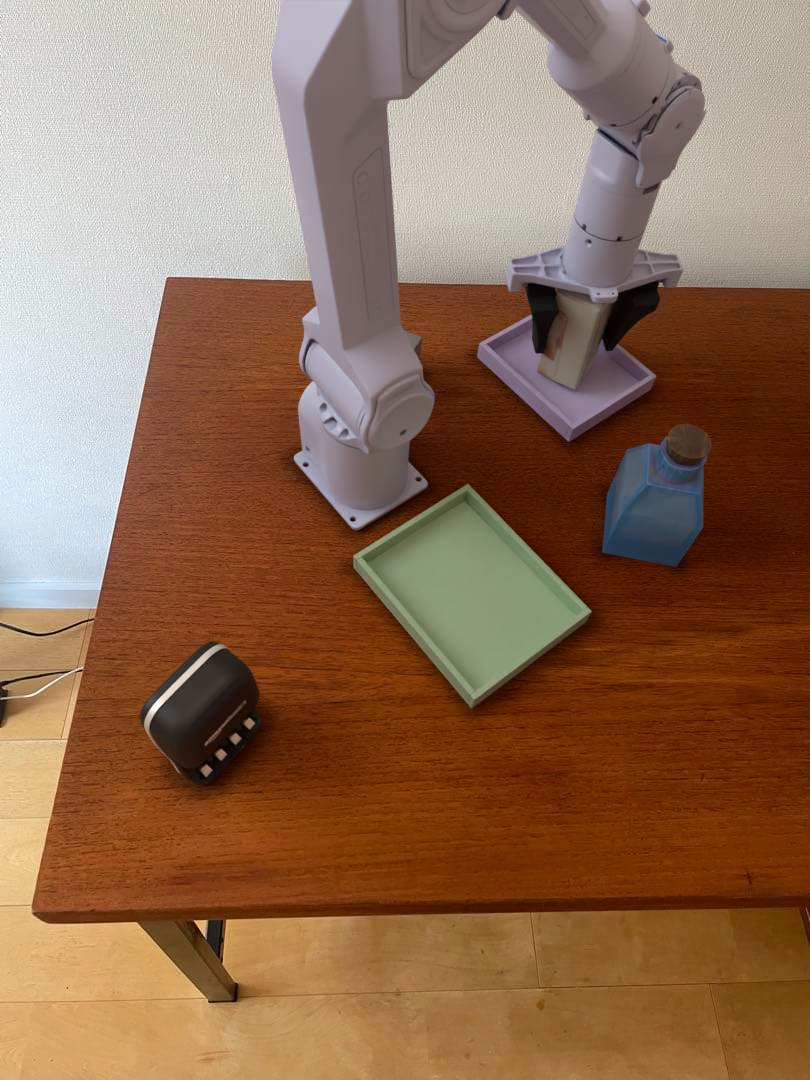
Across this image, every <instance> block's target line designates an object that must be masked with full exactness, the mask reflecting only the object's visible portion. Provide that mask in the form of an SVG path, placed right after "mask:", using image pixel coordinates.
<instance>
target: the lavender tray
mask: <svg viewBox="0 0 810 1080" xmlns="http://www.w3.org/2000/svg"><path fill="white" fill-rule="evenodd" d="M532 329H533V326H532V313H531V314H530V315H527V316H526V317H524V318H522V319H521V320H519V321H517V322H515V323H513V324H512V325H510V326H508V327H506V328H504V329H501V331H498V332H497V333H495V334H493V335H491V336H490V337H487V338H486V339H484V340H482V341H481V342H479V343H478V349H477V356H476V358H477V359H478V360H479V361H480V362H481V363H483V364H484V365H485V366H486V367H487V369H489V370H490V371H491V372H493V374H494V375H496V377H498V378H499V379H500V380H501V381H502V382H503V383H504V384H505V385H507V387H509V388H510V389H511V390H512V391H513V392H514V393H515V394H516V395H517V396H518V397H519V398H520V399H522V400H523V401H524V402H525V403H526V404H527V405H528V407H530V408H531V409H532V410H533V411H535V413H537V414H538V416H540V417H541V418H542V419H543V420H544V421H545V422H546V423H547V424H548V425H549V426H551V428H552V429H554V430H555V431H556V432H557V433H558V434H559V435H560V436H561V437H562V438H563V439H564V440H565V441H567V442H568V443H570V442H571V441H573V440H574V439H576V438H578V437H579V436H580V435H583V434H584V433H586V432H587V431H588V430H590V429H591V428H593V427H595V426H597V425H598V424H599V423H601V422H602V421H604V420H606V419H607V418H609V417H610V416H612V415H614V414H615V413H617V412H618V411H620V410H622V409H623V408H624V407H626V406H627V405H630V404H631V403H632V402H634V401H635V400H637V399H638V398H640V397H642V396H643V395H644V394H646V393H647V392H649V391H652V387H653V385H654V383H655V382H656V378H657V375H656V374H655V373H654V372H653V371H651V370H650V369H649V368H648V367H646V366H645V365H644V364H643V363H641V362H640V360H638V359H637V358H636V357H634V356H633V355H632V354H631V353H630V352H629V351H627V350H626V349H625V348H624V347H622V346H621V345H620V344H619V343H618V344H617V345H616V347H615V348H614V349H613V351H606V350H605V347H604V343H603V340H602V341H601V344H600V347H599V350H598V353H597V356H596V359H595V361H594V362H593V364H592V366H591V368H590V369H589V371H588V372H587V374H586V376H585V377H584V379H583V380H582V382H581V383H580V385H579V386H578V388H577V389H576V390H574V389H571V388H569V387H567V386H565V385H562V384H560V383H558V382H556V381H554V380H552V379H550V378H547V377H545V376H543V375H541V374H539V373H538V372H537V369H538V365H539V361H540V356H541V354H536V353H535V350H534V346H533V342H532Z"/></svg>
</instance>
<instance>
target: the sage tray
mask: <svg viewBox="0 0 810 1080" xmlns="http://www.w3.org/2000/svg"><path fill="white" fill-rule="evenodd" d="M352 557H353V562H352V563H353V566H352V567H353V569H354V570H355V571H356V572H357V573H358V575H359V576H360V577H361V578H362V580H364V582H365V583H366V584H367V585H368V587H369V588H370V590H372V591H373V593H374V594H375V595H376V596H377V597H378V599H380V601H381V602H382V603H383V605H384V606H385V607H386V608H387V609H388V610H389V612H390V613H391V615H393V617H394V618H395V619H396V620H397V621H398V623H399V624H400V625H401V626H402V627H403V629H404V630H405V632H406V633H408V634H409V636H410V637H411V638H412V639H413V641H414V642H415V643H416V644H417V645H418V647H419V648H420V650H422V651H423V653H424V654H425V655H426V656H427V657H428V658H429V660H430V661H431V662H432V663H433V665H434V666H435V667H436V668H437V670H438V671H439V672H440V673H441V674H442V675H443V677H445V679H446V680H447V681H448V682H449V684H450V685H451V686H452V687H453V689H454V690H455V691H456V692H457V693H458V695H459V696H460V697H461V698H462V700H463V701H464V702H465V703H466V704H467V705H468V706H469V708H470V709H473V708H475V707H476V706H477V705H479V704H480V703H481V702H483V701H484V700H486V699H487V698H488V697H489V696H491V695H492V694H493V693H494V692H496V691H497V690H498V689H500V688H501V687H503V685H505V684H506V683H508V682H509V681H511V680H512V679H514V678H515V677H516V676H517V675H518V674H520V673H521V672H522V671H524V670H525V669H526V668H527V667H529V666H530V665H531V664H533V663H534V662H535V661H537V660H538V659H539V658H541V657H542V656H543V655H545V654H546V653H548V651H550V650H551V649H552V648H554V647H555V646H557V645H558V644H559V643H561V642H562V641H563V640H565V639H566V638H567V637H569V635H571V634H572V633H574V632H575V631H576V630H578V629H579V628H581V626H583V625H584V624H586V623H587V621H588V619H589V618H590V616H591V614H592V609H590V608H589V607H588V606H587V605H586V603H584V602H583V601H582V599H580V598H579V596H578V595H577V594H576V593H575V592H574V591H573V590H572V589H571V588H570V587H569V586H568V585H567V584H566V583H565V582H564V581H563V580H562V579H561V578H560V577H559V576H558V575H557V574H556V572H554V571H553V570H552V569H551V567H549V565H548V564H546V563H545V562H544V560H543V559H542V558H541V557H540V556H539V555H538V554H537V553H536V552H535V551H534V550H533V549H532V548H531V547H530V546H529V545H528V544H527V543H526V542H525V541H524V540H523V538H522V537H521V536H519V535H518V534H517V532H515V530H514V529H512V527H511V526H510V525H509V524H508V523H507V522H506V521H505V520H504V519H503V518H502V517H501V515H499V514H498V513H497V512H496V511H495V510H494V509H493V508H492V507H491V505H490V504H489V503H487V502H486V501H485V500H484V499H483V497H481V496H480V494H479V493H478V492H477V491H476V490H475V489H474V488H473V487H472V486H471V485H470V484H469V483H467V484H464V485H463V486H462V487H460V488H459V489H457V490H455V491H454V492H452V493H451V494H449V495H448V496H446V497H445V498H443V499H441V500H439V501H438V502H437V503H434V504H433V505H431V506H430V507H428V508H427V509H425V510H424V511H422V512H420V513H419V514H417V515H415V516H414V517H413V518H411V519H409V520H408V521H406V522H404V523H403V524H401V525H400V526H398V527H396V528H395V529H393V530H392V531H390V532H389V533H387V534H385V535H384V536H382V537H381V538H379V539H377V540H376V541H373V543H371V544H369V545H368V546H367V547H365V548H363V549H362V550H360V551H358V552H357V553H355V554H354V555H353V556H352Z"/></svg>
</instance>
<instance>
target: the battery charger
mask: <svg viewBox="0 0 810 1080" xmlns="http://www.w3.org/2000/svg"><path fill="white" fill-rule="evenodd" d="M260 695H261V693H260V689H259V686H258V683H257V681H256V678H255V676H254V674H253V672H252V670H251V668H250V667H249V666H248V665H247V664H246V663H245V662H244V661H243V660H241V659H240V658H239V657H238V656H237V655H235V654H234V653H233V652H232V650H231V649H230V648H229V647H227V646H226V645H225V644H222V643H220V642H219V641H213V640H211V641H207V642H205V643H204V644H202V645H201V646H199V647H198V648H197V649H196V650H195V651H194V652H193V653H192V654H190V656H189V657H188V658H186V660H185V661H184V662H183V663H182V664H180V666H178V668H177V669H175V670H174V671H173V673H171V674H170V675H169V676H168V677H167V678H166V679H165V680H164V681H163V683H161V685H160V686H159V687H158V688H157V689H155V691H154V692H153V693H152V694H151V695H150V696H149V697H148V698H147V699H146V701H145V702H144V704H143V705H142V708H141V710H140V714H139V720H140V724H141V726H142V728H143V730H144V731H145V733H146V734H147V736H148V737H149V739H150V741H152V743H153V745H154V746H155V747H156V748H157V749H158V750H159V751H160V752H161V753H162V754H163V755H164V757H166V758H167V759H168V760H169V761H170V763H171V765H172V767H174V769H175V771H176V772H177V773H178V774H179V775H180V776H181V775H183V777H184V778H186V779H187V780H188V781H190V782H193V783H194V784H198V785H208V784H210V783H211V782H213V781H214V780H215V779H217V777H218V776H219V775H221V773H222V772H223V771H224V770H225V769H226V768H227V766H228V765H229V764H230V763H231V762H232V761H233V760H234V759H235V757H236V756H237V755H238V754H239V753H240V752H241V751H242V750H243V749H244V748H245V747H246V745H247V744H248V743H249V742H250V741H251V740H252V739H253V737H254V736H255V735H256V734H257V733H258V731H259V729H260V727H261V722H262V721H261V717H260V714H259V712H258V710H257V709H256V706H257V704H258V703H259V701H260Z"/></svg>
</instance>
